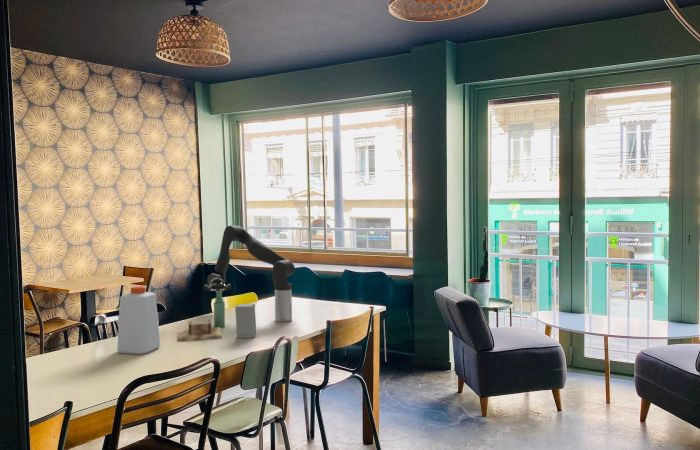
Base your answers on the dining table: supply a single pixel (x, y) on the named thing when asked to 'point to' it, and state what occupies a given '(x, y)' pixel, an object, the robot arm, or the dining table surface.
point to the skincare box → (245, 320)
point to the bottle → (219, 311)
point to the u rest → (199, 332)
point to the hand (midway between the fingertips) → (218, 289)
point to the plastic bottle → (138, 322)
